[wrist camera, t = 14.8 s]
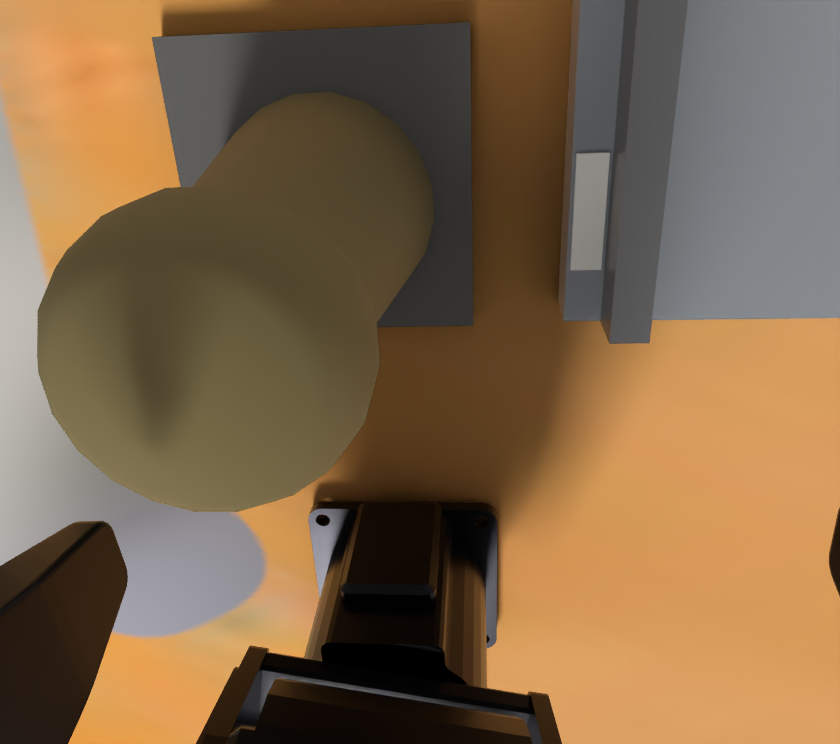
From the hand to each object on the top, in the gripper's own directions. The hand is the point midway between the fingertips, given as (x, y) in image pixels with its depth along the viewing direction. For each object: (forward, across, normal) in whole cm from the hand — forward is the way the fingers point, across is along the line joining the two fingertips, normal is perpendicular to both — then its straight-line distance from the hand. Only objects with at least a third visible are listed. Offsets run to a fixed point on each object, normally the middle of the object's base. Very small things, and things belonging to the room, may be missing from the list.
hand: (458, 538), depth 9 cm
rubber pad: (+13, +4, -2) cm, 14 cm away
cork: (+12, +4, -1) cm, 13 cm away
